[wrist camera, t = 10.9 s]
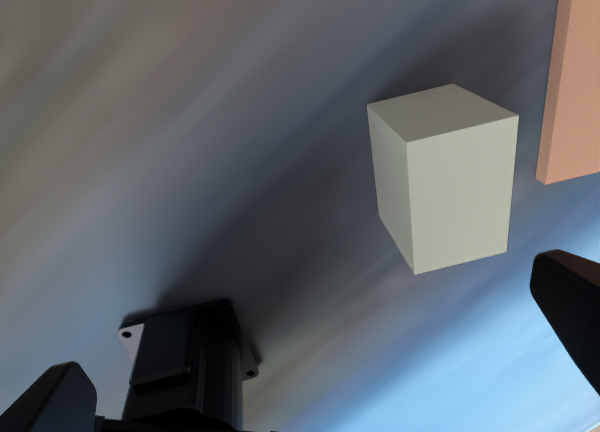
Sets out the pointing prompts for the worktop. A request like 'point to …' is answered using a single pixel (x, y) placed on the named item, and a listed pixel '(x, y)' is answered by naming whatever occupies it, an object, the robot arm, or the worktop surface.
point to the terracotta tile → (572, 95)
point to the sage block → (443, 174)
